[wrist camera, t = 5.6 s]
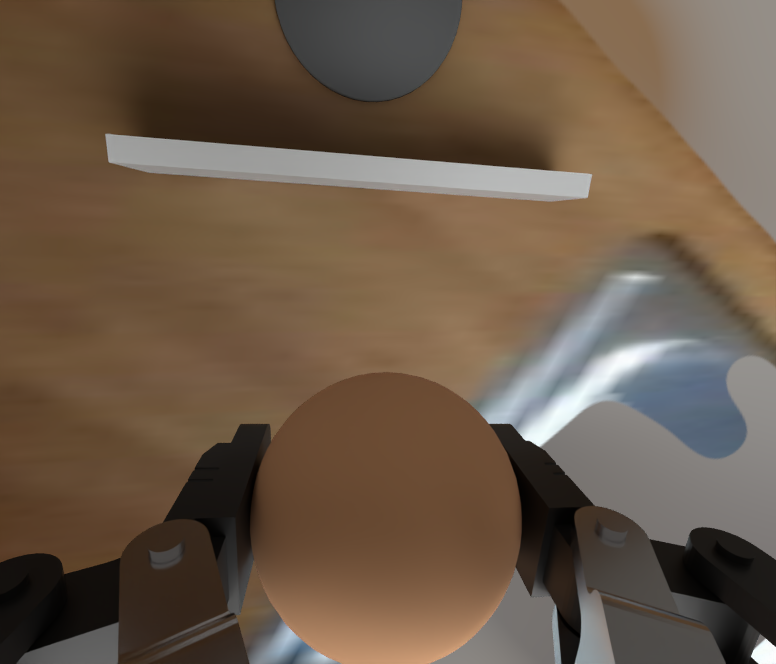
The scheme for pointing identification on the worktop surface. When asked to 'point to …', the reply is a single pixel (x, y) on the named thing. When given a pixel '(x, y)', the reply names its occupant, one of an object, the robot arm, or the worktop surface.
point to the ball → (385, 521)
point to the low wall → (342, 169)
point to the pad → (370, 42)
